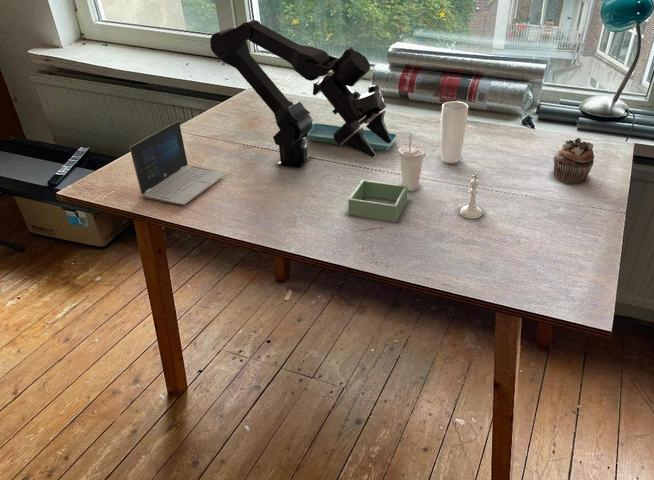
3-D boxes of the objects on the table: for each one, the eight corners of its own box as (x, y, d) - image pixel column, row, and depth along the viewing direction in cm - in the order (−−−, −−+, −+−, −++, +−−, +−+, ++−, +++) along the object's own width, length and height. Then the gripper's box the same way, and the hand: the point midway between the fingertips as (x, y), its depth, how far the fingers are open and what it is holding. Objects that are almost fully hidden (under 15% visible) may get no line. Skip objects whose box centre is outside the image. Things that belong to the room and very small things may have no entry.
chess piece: (476, 220, 128) (482, 180, 122) (456, 214, 130) (460, 175, 124) (485, 211, 131) (490, 171, 125) (465, 205, 133) (470, 166, 127)
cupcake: (595, 176, 145) (605, 139, 140) (578, 189, 140) (587, 151, 134) (561, 165, 151) (569, 129, 145) (543, 177, 145) (550, 140, 139)
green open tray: (348, 214, 130) (348, 199, 128) (362, 194, 138) (362, 179, 136) (395, 222, 127) (396, 206, 125) (407, 201, 135) (407, 186, 133)
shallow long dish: (398, 140, 165) (398, 132, 163) (389, 153, 158) (389, 144, 156) (314, 130, 171) (313, 122, 170) (302, 141, 164) (301, 133, 163)
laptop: (184, 207, 133) (173, 155, 126) (141, 197, 137) (128, 146, 130) (227, 175, 147) (219, 127, 139) (187, 167, 151) (177, 120, 143)
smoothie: (392, 184, 142) (394, 131, 134) (414, 179, 144) (417, 126, 136) (405, 195, 138) (408, 140, 129) (428, 189, 140) (431, 135, 132)
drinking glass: (462, 166, 151) (467, 110, 142) (436, 164, 152) (440, 109, 143) (463, 155, 156) (469, 101, 147) (438, 153, 157) (443, 100, 148)
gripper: (344, 89, 124) (388, 145, 127) (379, 66, 138) (419, 117, 140) (314, 118, 132) (357, 170, 134) (351, 93, 145) (389, 142, 148)
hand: (382, 149), depth 139 cm, fingers open, 9 cm apart
